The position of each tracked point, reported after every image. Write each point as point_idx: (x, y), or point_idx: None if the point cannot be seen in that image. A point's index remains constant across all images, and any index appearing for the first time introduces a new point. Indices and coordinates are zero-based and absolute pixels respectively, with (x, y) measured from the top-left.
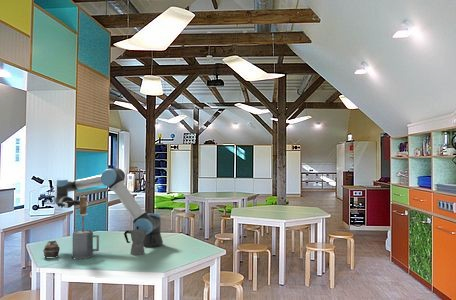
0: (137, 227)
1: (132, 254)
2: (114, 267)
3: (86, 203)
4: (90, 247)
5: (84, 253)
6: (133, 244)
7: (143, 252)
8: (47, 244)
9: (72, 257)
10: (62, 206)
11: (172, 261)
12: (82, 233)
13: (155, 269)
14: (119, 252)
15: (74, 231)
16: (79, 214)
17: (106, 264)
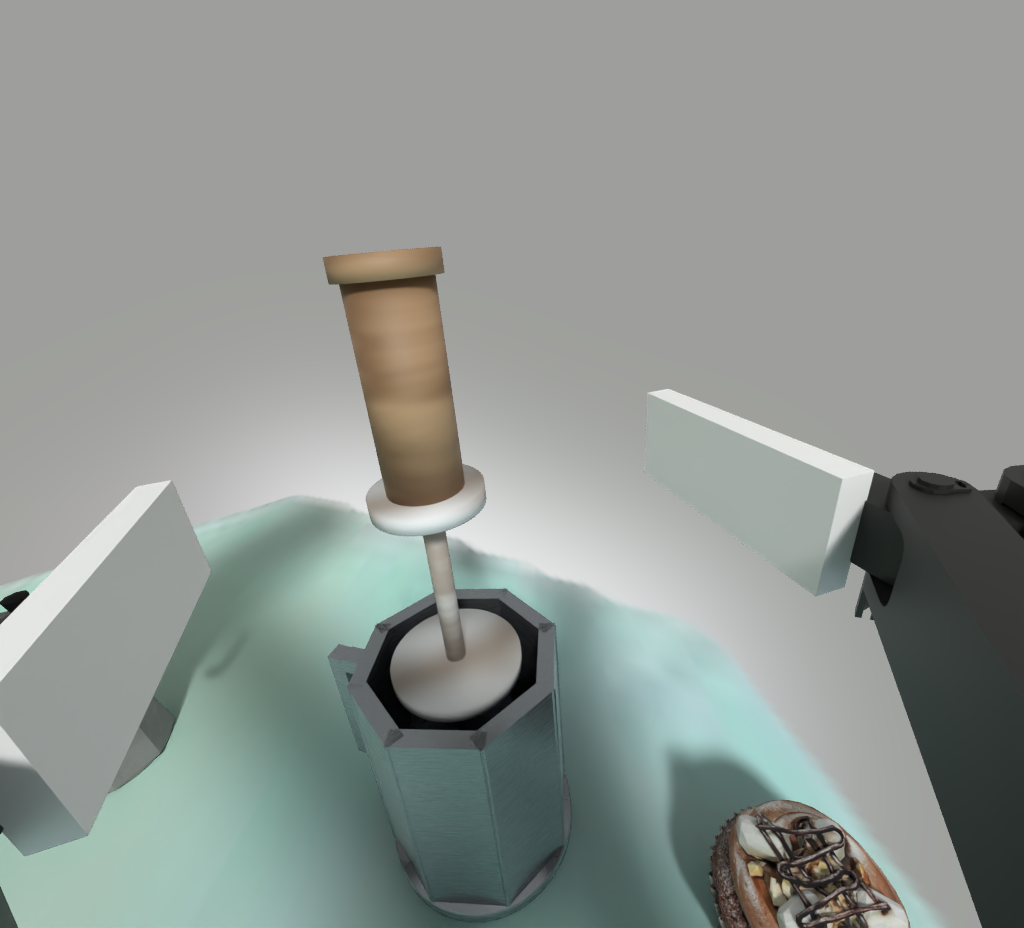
0: (28, 594)
1: (173, 722)
2: (392, 554)
3: (173, 542)
4: None
5: None
6: None
7: None
8: (863, 864)
9: (564, 777)
10: (864, 577)
11: None
12: (473, 590)
13: (292, 514)
14: (169, 853)
15: (539, 696)
16: (472, 469)
17: (403, 592)
